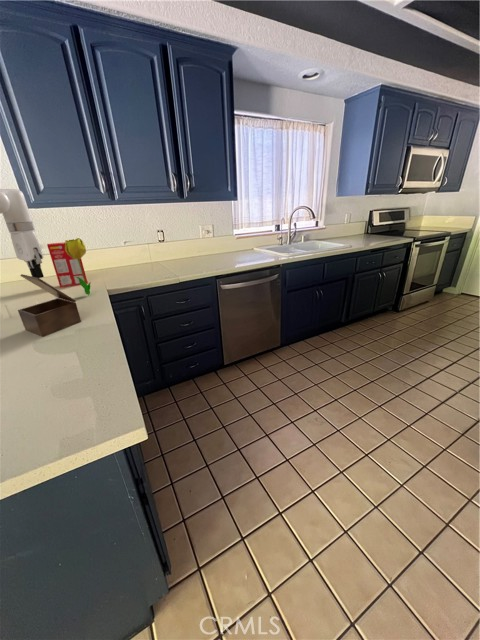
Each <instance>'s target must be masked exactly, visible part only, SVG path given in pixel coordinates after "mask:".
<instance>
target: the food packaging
mask: <svg viewBox="0 0 480 640" xmlns="http://www.w3.org/2000/svg"><path fill="white" fill-rule="evenodd" d="M46 246H47V249H48V252H49V255H50V259H51V262H52V266H53V268H54V272H55V275H56V279H57V282H58V285H59V288H67V287H73V286H81V284H80V282H79V279H78V278H76V277H79V278H81V279H82V280H83V281H84V280H85V282H86V284H87V285H88V284H89V282H88V279H87V276H86V272H85V268H84V263H83V259H82V258H81V259H79V261H80V265H81V268H80V265H79V262H78V259H74V258H72V257H71V256H69V255H68V254H67V253H66V251H65V241H64V242H52V243H47V244H46ZM81 269H82V272H83V275H82V272H81ZM83 276H84V278H83Z"/></svg>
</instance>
